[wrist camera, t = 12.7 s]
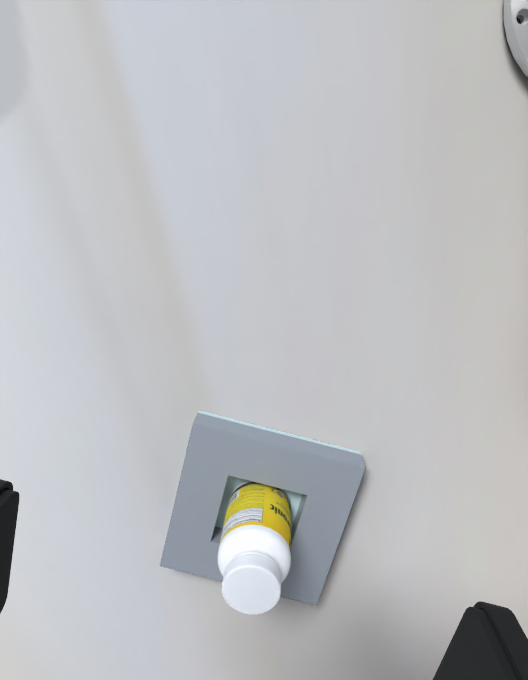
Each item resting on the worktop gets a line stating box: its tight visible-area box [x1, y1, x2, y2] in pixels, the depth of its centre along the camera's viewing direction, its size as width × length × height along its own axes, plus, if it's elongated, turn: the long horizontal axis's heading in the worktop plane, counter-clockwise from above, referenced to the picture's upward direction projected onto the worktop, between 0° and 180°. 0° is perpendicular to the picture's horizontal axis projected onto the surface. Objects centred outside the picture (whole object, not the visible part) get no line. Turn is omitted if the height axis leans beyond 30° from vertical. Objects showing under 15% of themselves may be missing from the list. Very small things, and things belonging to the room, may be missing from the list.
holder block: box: [160, 410, 366, 605], centre depth 40 cm, size 14×14×2 cm
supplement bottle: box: [218, 480, 291, 615], centre depth 36 cm, size 5×5×10 cm
